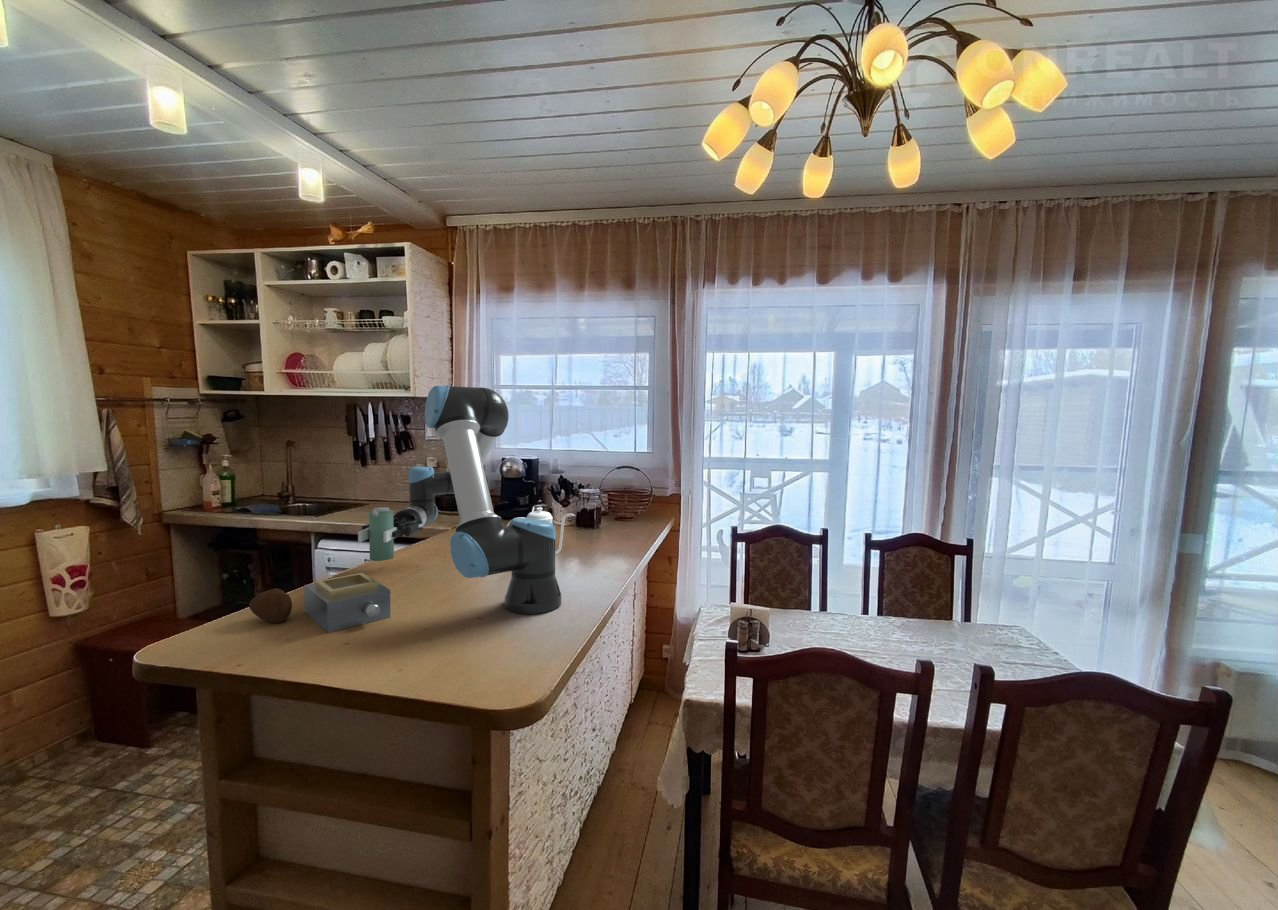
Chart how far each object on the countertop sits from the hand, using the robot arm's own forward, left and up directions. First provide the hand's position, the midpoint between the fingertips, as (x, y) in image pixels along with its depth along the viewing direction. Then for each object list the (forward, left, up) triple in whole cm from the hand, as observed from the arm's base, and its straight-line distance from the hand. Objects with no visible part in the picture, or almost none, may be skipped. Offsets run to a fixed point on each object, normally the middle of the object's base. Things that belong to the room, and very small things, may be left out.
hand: (372, 537), depth 138 cm
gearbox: (-5, +8, -18) cm, 20 cm away
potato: (+4, +22, -18) cm, 29 cm away
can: (+4, -4, -7) cm, 9 cm away
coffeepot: (+5, -58, -18) cm, 61 cm away
